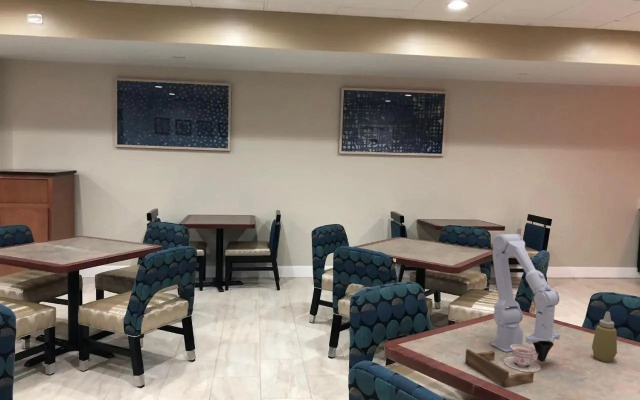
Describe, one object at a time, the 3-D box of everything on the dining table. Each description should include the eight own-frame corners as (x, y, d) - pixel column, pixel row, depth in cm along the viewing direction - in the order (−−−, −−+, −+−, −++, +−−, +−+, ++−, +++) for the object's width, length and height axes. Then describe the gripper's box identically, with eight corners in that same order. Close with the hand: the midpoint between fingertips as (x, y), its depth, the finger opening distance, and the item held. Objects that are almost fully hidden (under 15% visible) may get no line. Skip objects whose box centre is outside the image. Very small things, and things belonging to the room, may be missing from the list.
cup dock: (491, 358, 169) (492, 345, 168) (533, 381, 152) (534, 367, 151) (465, 363, 164) (466, 349, 163) (504, 387, 147) (505, 372, 147)
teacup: (503, 368, 161) (504, 351, 161) (503, 355, 173) (505, 339, 172) (541, 375, 157) (543, 358, 156) (539, 362, 168) (540, 345, 168)
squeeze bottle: (612, 356, 176) (617, 310, 174) (618, 365, 168) (623, 316, 166) (588, 353, 178) (593, 307, 177) (593, 361, 171) (598, 313, 169)
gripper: (538, 329, 158) (535, 368, 159) (568, 325, 164) (565, 362, 165) (522, 322, 164) (519, 359, 166) (551, 318, 170) (548, 354, 171)
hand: (541, 360), depth 166 cm, fingers closed
